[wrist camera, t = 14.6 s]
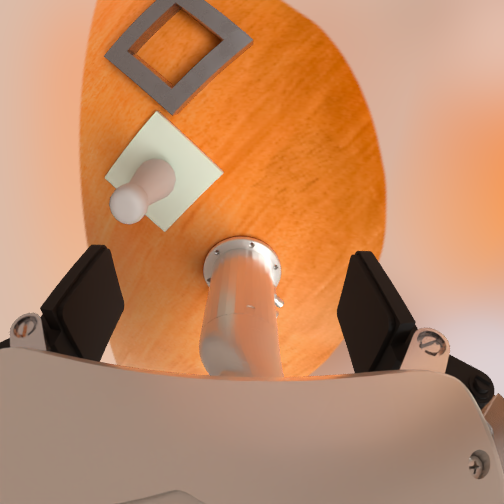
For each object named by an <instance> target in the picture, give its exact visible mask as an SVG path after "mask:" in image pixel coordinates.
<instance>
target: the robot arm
mask: <svg viewBox="0 0 504 504" xmlns="http://www.w3.org/2000/svg"><path fill="white" fill-rule="evenodd" d="M251 243H253V244H251ZM217 250H219V251H217ZM203 272H204V278H205V281H206V283H207V285H208V287H209V292H208V297H207V303H206V308H205V313H204V319H203V324H202V330H201V335H200V340H199V353H200V357H201V360H202V363H203V365H204V367H205V369H206V370H207V372H208V373H209V375H210V376H209V375H195V374H183V373H173V372H163V371H155V370H147V369H140V368H133V367H126V366H120V365H114V364H108V363H103V362H100V360H101V357H102V355H103V353H104V351H105V348H106V346H107V344H108V342H109V340H110V337H111V335H112V333H113V331H114V329H115V327H116V324H117V322H118V320H119V318H120V316H121V314H122V312H123V310H124V300H123V297H122V293H121V290H120V286H119V283H118V279H117V275H116V272H115V268H114V264H113V260H112V256H111V252H110V250H109V249H107V247H106V246H105V245H91V246H90V247H89V248H88V249H87V250H86V252H85V253H84V254H83V255H82V256H81V257H80V258H79V260H78V261H77V262H76V263H75V264H74V265H73V267H72V268H71V269H70V270H69V272H68V273H67V274H66V275H65V276H64V278H63V279H62V280H61V281H60V283H59V284H58V285H57V286H56V288H55V289H54V290H53V292H52V293H51V294H50V296H49V297H48V298H47V300H46V301H45V302H44V304H43V305H42V306H41V308H40V309H41V311H42V313H43V315H42V316H41V317H40V316H39V315H38V314H35V313H28V314H24V315H22V316H20V317H19V318H18V319H17V320H16V321H15V322H14V323H13V324H12V326H11V328H10V338H9V339H7V340H5V341H3V342H0V504H504V398H503V397H502V396H501V395H500V394H499V393H498V394H497V395H496V396H495V395H494V386H493V383H492V381H491V379H490V378H489V377H488V376H487V375H486V374H484V373H483V372H482V371H480V370H478V369H476V368H474V367H472V366H470V365H468V364H466V363H464V362H463V361H461V360H459V359H457V358H455V357H453V356H451V355H449V353H450V345H449V342H448V340H447V339H446V337H445V336H444V335H442V334H441V333H440V332H438V331H437V330H435V329H432V328H420V329H417V327H416V325H415V320H414V319H413V317H412V315H411V313H410V312H409V310H408V308H407V306H406V305H405V303H404V302H403V300H402V298H401V296H400V295H399V293H398V292H397V290H396V288H395V287H394V285H393V284H392V282H391V280H390V279H389V277H388V276H387V274H386V273H385V271H384V270H383V268H382V266H381V265H380V263H379V262H378V260H377V259H376V257H375V256H374V254H373V253H372V252H371V251H357V252H356V253H355V255H351V258H350V262H349V266H348V270H347V274H346V278H345V282H344V286H343V290H342V293H341V297H340V301H339V305H338V308H337V317H338V320H339V323H340V326H341V329H342V332H343V336H344V339H345V342H346V345H347V348H348V351H349V354H350V358H351V361H352V365H353V368H354V371H355V373H354V374H343V375H325V376H307V377H284V376H283V371H282V365H281V358H280V349H279V340H278V329H277V319H276V318H277V316H278V311H277V310H276V309H275V305H276V306H277V307H279V308H280V307H282V306H283V304H284V301H283V300H282V299H281V298H280V297H278V296H277V295H276V287H277V285H278V283H279V281H280V277H281V266H280V261H279V259H278V256H277V255H276V253H275V252H274V250H273V249H272V248H271V247H270V246H269V245H267V244H266V243H264V242H262V241H260V240H258V239H255V238H251V237H232V238H229V239H226V240H223V241H221V242H220V243H218V244H217V245H215V246H214V247H213V248H212V249H211V250H210V252H209V253H208V255H207V257H206V259H205V263H204V268H203Z"/></svg>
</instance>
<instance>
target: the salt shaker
mask: <svg viewBox="0 0 504 504" xmlns="http://www.w3.org/2000/svg"><path fill="white" fill-rule="evenodd" d="M175 182H176V178H175V171H174V170H173V168H172V167H171V166H170V164H169V163H167V162H165V161H164V160H162V159H150V160H148V161H145V162H143V163H142V164H141V165H140V167H139V168H138V169H137V171H136V172H135V174H134V176H133V177H132V179H131V180H130V182H129V183H126V184H124V185H121V186H119V187H118V188H117V189H116V190H115V191H114V193H113V194H112V196H111V197H110V203H109V206H110V210H111V213H112V214H113V216H114V217H115V218H116V220H118V221H120V222H121V223H124V224H133V223H136V222H138V221H140V220H141V219H142V218H143V216H144V215H145V214H146V213H147V210H148V206H149V205H151V204H153V203H155V202H157V201H159V200H161V199H163V198H165V197H167V196H168V195H169V194H170V193H171V192H172V191H173V189H174V185H175Z"/></svg>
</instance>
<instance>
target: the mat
mask: <svg viewBox="0 0 504 504" xmlns="http://www.w3.org/2000/svg"><path fill="white" fill-rule="evenodd" d="M150 159H162V160H164V161H165V162H167V163H169V164H170V166H171V167H172V168H173V170H174V171H175V178H176V182H175V185H174V189H173V191H172V192H171V193H170V194H169V195H168V196H167V197H165V198H163V199H161V200H159V201H157V202H155V203H153V204H151V205H149V206H148V210H147V213H146V214H145V215H146V216H147V217H148V218H149V219H151V220H152V221H153V222H154V223H155V224H156V225H157V226H159V227H160V228H161V229H162V230H163V231H164V232H165V231H166V230H167V229H168V228H169V227H170V226H171V225H172V224H173V223H174V222H175V221H176V220H177V219H178V218H179V217H180V216H181V215H182V214H183V213H184V212H185V211H186V210H187V209H188V208H189V206H190V205H191V204H192V203H193V202H194V201H195V200H196V199H197V198H198V197H199V196H200V195H201V194H202V193H203V192H204V191H205V190H206V189H208V188H209V187H210V186H211V185H212V184H213V183H214V182H215V181H216V180H217V179H218V178H219V177H220V176H221V175H222V174H223V173H224V172H223V171H222V170H221V169H220V168H219V167H218V166H217V165H216V164H215V163H214V162H213V161H212V160H211V159H210V158H209V157H208V156H207V155H206V154H205V153H203V152H202V151H201V150H200V149H199V148H198V147H197V146H196V145H195V144H194V143H193V142H192V141H191V140H190V139H189V138H187V137H186V136H185V135H184V134H183V133H182V132H181V131H180V130H179V129H178V128H177V127H176V126H174V125H173V124H172V123H171V122H170V121H169V120H168V119H167V118H166V117H165V116H163V115H162V114H161V113H160V112H159V111H156V112H155V113H154V114H153V116H152V117H151V118H150V119H149V120H148V121H147V123H146V124H145V125H144V126H143V127H142V129H141V130H140V131H139V132H138V133H137V135H136V136H135V137H134V138H133V140H132V141H131V142H130V143H129V145H128V146H127V147H126V149H125V150H124V151H123V153H122V154H121V155H120V157H119V158H118V159H117V161H116V162H115V163H114V165H113V166H112V168H111V169H110V170H109V172H108V173H107V175H106V176H105V179H106V180H107V181H109V182H110V183H111V184H112V185H113V186H114V187H115V188H116V189H117V188H118V187H119V186H121V185H124V184H126V183H129V182H130V180H131V179H132V177H133V176H134V174H135V172H136V171H137V169H138V168H139V167H140V165H141V164H142V163H143V162H145V161H148V160H150Z"/></svg>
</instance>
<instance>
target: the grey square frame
mask: <svg viewBox="0 0 504 504" xmlns="http://www.w3.org/2000/svg"><path fill="white" fill-rule="evenodd" d="M180 9H182V10H183V11H185V12H186V13H187V14H189V15H190V16H191V17H193V18H194V19H195V20H197V21H198V22H199V23H200V24H202V25H203V26H204V27H206V28H207V29H208V30H209V31H210V32H212V33H213V34H214V35H215V36H217V37H218V38H219V39H220V40H221V41H222V42H221V43H220V44H219V45H217V46H216V47H215V48H214V49H213V50H212V51H211V52H209V53H208V54H207V55H206V56H205V57H204V58H203V59H202V60H201V61H200V62H199V63H197V64H196V65H195V66H194V67H193V68H192V69H191V70H190V71H189V72H188V73H187V74H186V75H185V76H184V77H183V78H182V79H181V80H180V81H179V82H178V83H177V84H176V85H175V86H173V85H172V84H171V83H170V82H168V81H167V80H166V79H165V78H164V77H163V76H161V75H160V74H159V73H158V72H157V71H156V70H154V69H153V68H152V67H151V66H150V65H148V64H147V63H146V62H145V61H144V60H142V59H141V58H140V57H139V56H138V55H136V54H135V53H136V52H137V51H138V50H139V49H140V48H141V47H142V46H143V45H144V44H145V43H146V42H147V41H148V40H149V39H150V38H151V37H152V36H153V35H154V34H155V33H156V32H157V31H158V30H159V29H160V28H161V27H162V26H163V25H164V24H165V23H166V22H167V21H168V20H169V19H170V18H171V17H172V16H173V15H175V14H176V13H177V12H178V11H179V10H180ZM252 45H253V39H252V38H251V37H249V36H248V35H247V34H246V33H245V32H244V31H242V30H241V29H240V28H239V27H238V26H237V25H235V24H234V23H233V22H232V21H230V20H229V19H228V18H227V17H225V16H224V15H223V14H222V13H220V12H219V11H218V10H217V9H215V8H214V7H213V6H211V5H210V4H209V3H207V2H206V1H204V0H156V1H155V2H154V3H153V4H152V5H151V6H150V7H149V8H148V9H147V10H146V11H145V12H144V13H143V14H142V15H141V16H140V17H139V18H138V19H137V20H136V21H135V22H134V23H133V24H132V25H131V26H130V27H129V28H128V29H127V30H126V31H125V32H124V33H123V34H122V36H121V37H120V38H119V39H118V40H117V41H116V42H115V44H114V45H113V46H112V47H111V48H110V49H109V51H108V52H107V53H106V54H105V56H104V57H105V58H107V59H108V60H109V61H110V62H111V63H113V64H114V65H115V66H116V67H117V68H119V69H120V70H121V71H122V72H123V73H125V74H126V75H127V76H128V77H129V78H130V79H132V80H133V81H134V82H135V83H136V84H137V85H139V86H140V87H141V88H142V89H143V90H144V91H145V92H147V93H148V94H149V95H150V96H151V97H152V98H153V99H154V100H156V101H157V102H158V103H159V104H160V105H161V106H162V107H163V108H165V109H166V110H167V111H168V112H169V113H170V114H171V115H176V114H178V113H179V112H180V111H181V110H182V109H183V108H184V107H185V106H186V105H187V104H188V103H189V102H190V101H191V100H192V99H193V98H194V97H195V96H196V95H197V94H198V93H199V92H200V91H201V90H202V89H203V88H204V87H205V86H206V85H207V84H208V83H209V82H210V81H212V80H213V79H214V78H215V77H216V76H217V75H218V74H219V73H220V72H221V71H223V70H224V69H225V68H226V67H227V66H228V65H229V64H230V63H232V62H233V61H234V60H235V59H236V58H237V57H239V56H240V55H241V54H242V53H243V52H245V51H246V50H247V49H248V48H250V47H251V46H252Z"/></svg>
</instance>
